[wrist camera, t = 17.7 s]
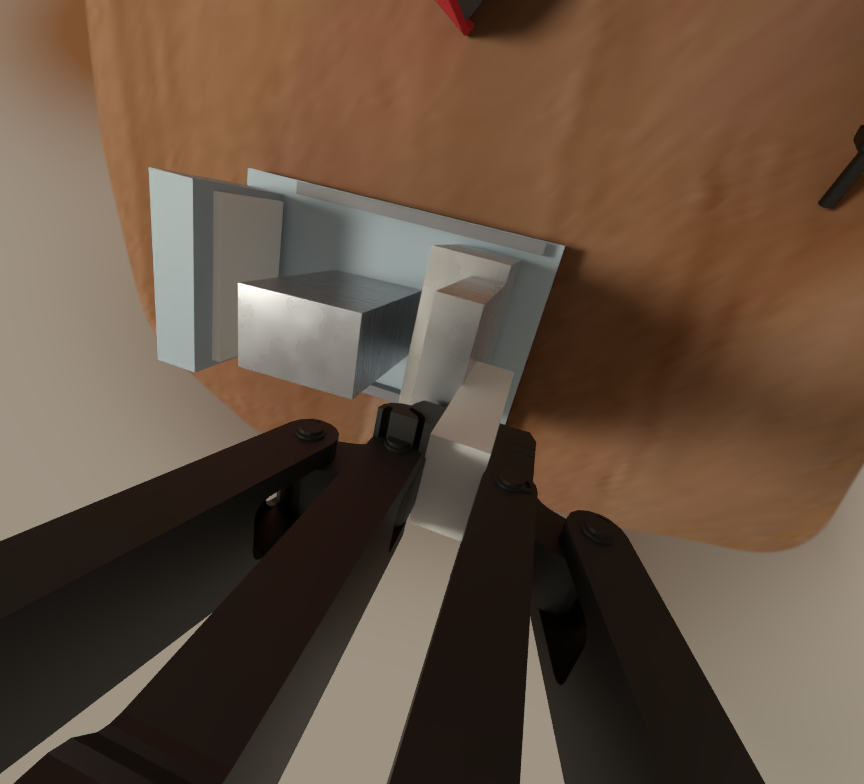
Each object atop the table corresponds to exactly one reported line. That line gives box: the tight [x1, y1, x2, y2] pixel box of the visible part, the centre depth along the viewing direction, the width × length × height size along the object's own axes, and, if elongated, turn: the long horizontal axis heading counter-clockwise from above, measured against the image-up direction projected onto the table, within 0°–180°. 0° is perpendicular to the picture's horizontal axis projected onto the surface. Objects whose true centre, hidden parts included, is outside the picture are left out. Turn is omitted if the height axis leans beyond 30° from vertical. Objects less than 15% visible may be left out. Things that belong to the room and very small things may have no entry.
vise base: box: [149, 167, 565, 425], centre depth 24 cm, size 12×20×8 cm, turn 77°
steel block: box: [238, 270, 422, 399], centre depth 22 cm, size 4×6×9 cm, turn 79°
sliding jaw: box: [398, 244, 522, 513], centre depth 19 cm, size 10×4×12 cm, turn 167°
